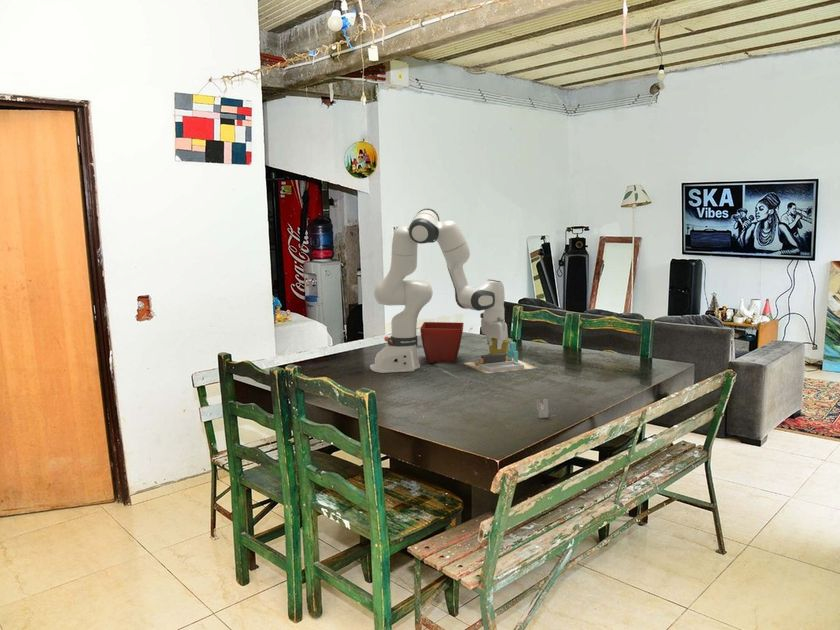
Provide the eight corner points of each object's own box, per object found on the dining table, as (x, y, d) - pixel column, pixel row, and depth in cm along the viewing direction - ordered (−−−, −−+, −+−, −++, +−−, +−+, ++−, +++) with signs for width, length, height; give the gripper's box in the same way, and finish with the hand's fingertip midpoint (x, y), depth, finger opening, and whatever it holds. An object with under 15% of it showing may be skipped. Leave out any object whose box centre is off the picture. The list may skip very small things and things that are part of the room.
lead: (481, 365, 298) (481, 356, 297) (478, 364, 301) (478, 355, 300) (508, 362, 303) (508, 354, 302) (504, 361, 306) (504, 353, 305)
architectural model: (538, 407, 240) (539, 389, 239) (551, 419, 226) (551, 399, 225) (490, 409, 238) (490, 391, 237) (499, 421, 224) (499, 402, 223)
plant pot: (463, 356, 323) (463, 322, 320) (462, 365, 304) (462, 328, 301) (424, 356, 325) (423, 321, 322) (420, 365, 306) (419, 328, 303)
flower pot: (509, 356, 323) (509, 337, 322) (506, 360, 315) (507, 341, 313) (490, 355, 325) (491, 337, 324) (488, 359, 317) (488, 340, 315)
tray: (489, 372, 285) (489, 368, 285) (479, 368, 294) (479, 364, 293) (524, 368, 292) (524, 365, 292) (513, 364, 300) (513, 360, 300)
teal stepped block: (514, 362, 302) (514, 343, 301) (507, 359, 308) (507, 341, 307) (517, 362, 303) (518, 343, 302) (511, 359, 309) (511, 341, 307)
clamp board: (485, 376, 284) (485, 370, 283) (462, 365, 304) (462, 359, 304) (538, 370, 293) (538, 364, 293) (512, 360, 314) (512, 354, 313)
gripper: (511, 319, 288) (511, 350, 290) (491, 312, 307) (491, 342, 309) (497, 320, 286) (497, 352, 288) (478, 313, 305) (478, 343, 307)
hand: (494, 347), depth 298 cm, fingers open, 8 cm apart
